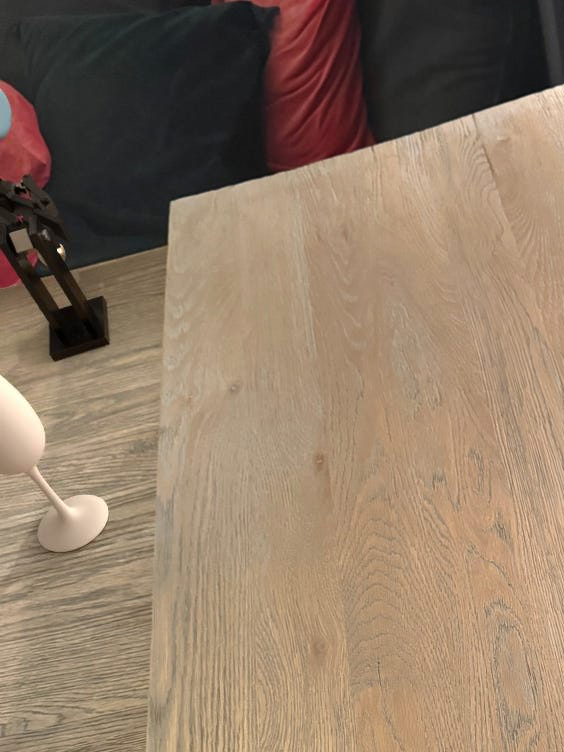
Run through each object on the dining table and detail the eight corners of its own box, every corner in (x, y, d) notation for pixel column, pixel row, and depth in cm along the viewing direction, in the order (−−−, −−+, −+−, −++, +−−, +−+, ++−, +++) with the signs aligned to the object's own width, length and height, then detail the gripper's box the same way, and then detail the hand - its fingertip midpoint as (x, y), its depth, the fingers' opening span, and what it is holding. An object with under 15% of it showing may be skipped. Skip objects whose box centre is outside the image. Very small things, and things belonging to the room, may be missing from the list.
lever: (48, 272, 132) (37, 245, 131) (73, 264, 132) (62, 238, 131) (13, 259, 120) (1, 230, 119) (40, 250, 120) (28, 221, 119)
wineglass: (24, 536, 111) (-94, 402, 94) (77, 486, 114) (-28, 348, 97) (70, 563, 108) (-44, 429, 90) (123, 511, 111) (23, 372, 93)
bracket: (53, 318, 135) (-13, 218, 122) (106, 302, 135) (47, 199, 122) (53, 361, 129) (-15, 261, 116) (109, 344, 129) (47, 241, 116)
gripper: (25, 191, 143) (114, 233, 132) (-55, 241, 138) (31, 288, 127) (-3, 141, 137) (88, 181, 126) (-87, 192, 131) (0, 237, 121)
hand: (59, 235), depth 126 cm, fingers closed
